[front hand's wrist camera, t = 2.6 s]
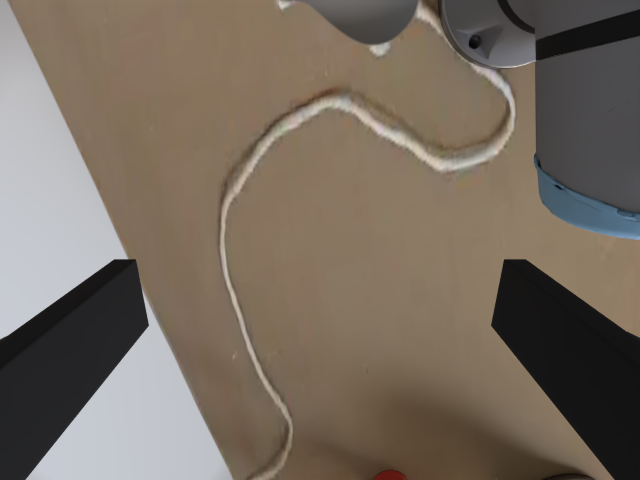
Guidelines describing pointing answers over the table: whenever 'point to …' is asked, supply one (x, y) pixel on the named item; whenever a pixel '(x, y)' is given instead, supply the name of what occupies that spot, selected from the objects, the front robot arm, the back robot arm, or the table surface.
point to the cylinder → (390, 476)
